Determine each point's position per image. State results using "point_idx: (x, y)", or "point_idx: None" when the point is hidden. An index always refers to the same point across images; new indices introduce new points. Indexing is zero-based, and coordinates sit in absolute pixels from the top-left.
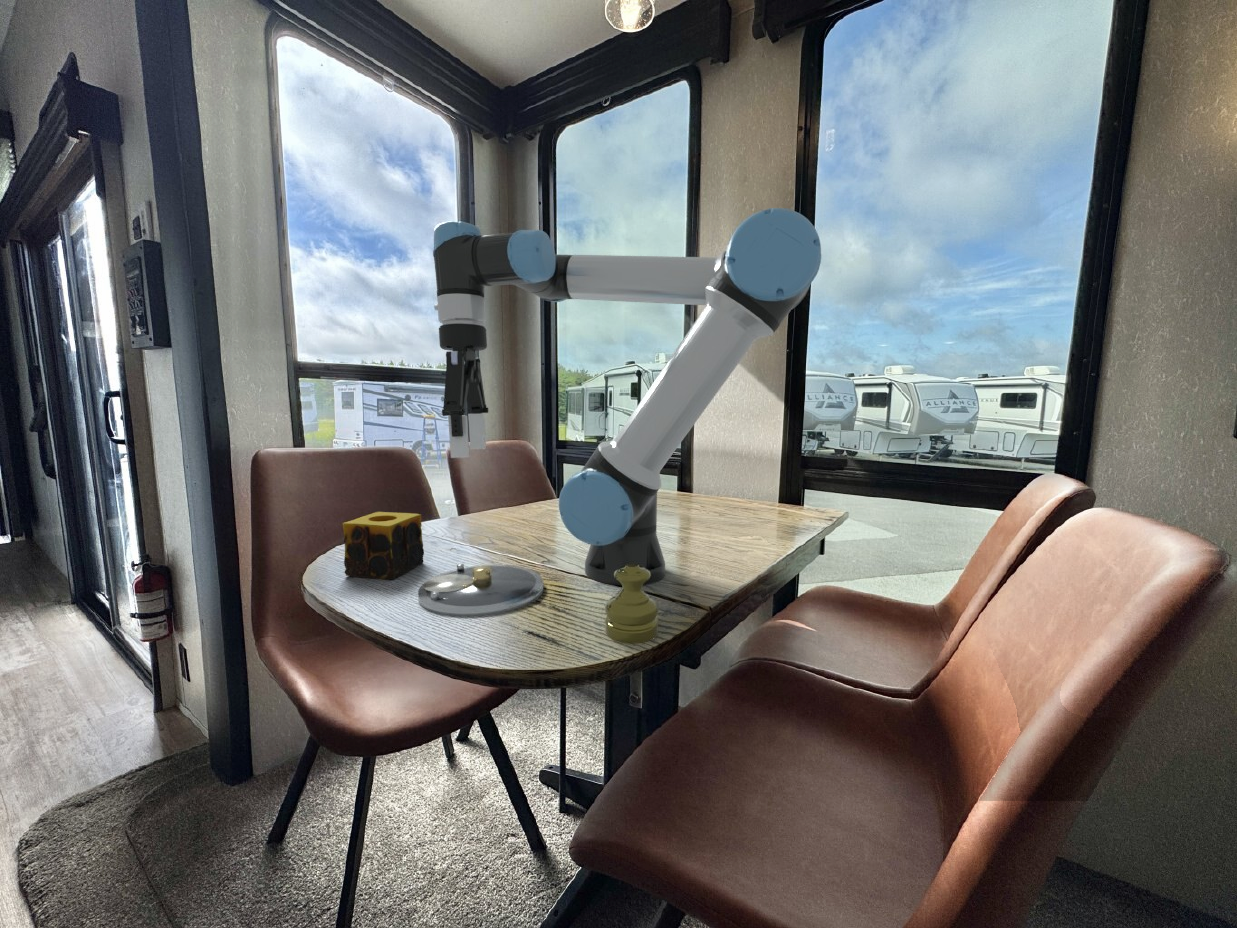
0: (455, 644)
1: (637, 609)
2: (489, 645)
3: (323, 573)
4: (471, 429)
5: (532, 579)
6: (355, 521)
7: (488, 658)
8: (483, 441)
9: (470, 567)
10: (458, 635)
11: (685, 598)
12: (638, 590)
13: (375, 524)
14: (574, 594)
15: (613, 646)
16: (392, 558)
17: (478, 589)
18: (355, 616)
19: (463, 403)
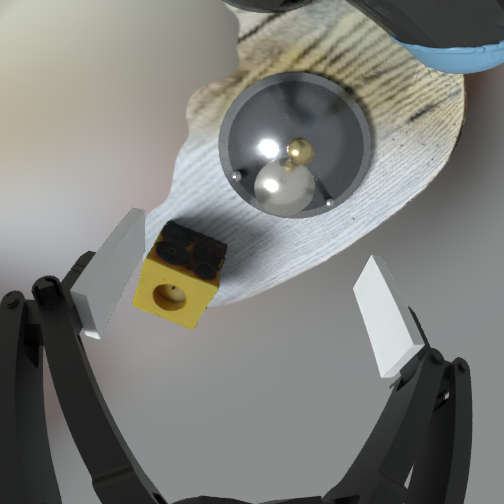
0: (406, 182)
1: None
2: (418, 157)
3: None
4: (120, 288)
5: (303, 85)
6: (185, 320)
7: (434, 162)
8: (134, 227)
9: (224, 162)
10: (393, 179)
11: None
12: None
13: (206, 302)
14: (336, 45)
15: None
16: (222, 259)
17: (317, 154)
18: (317, 261)
19: (440, 381)
